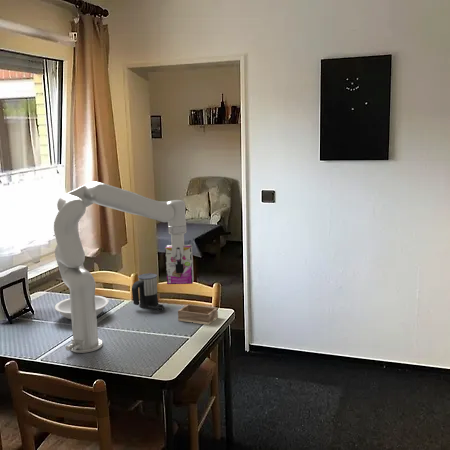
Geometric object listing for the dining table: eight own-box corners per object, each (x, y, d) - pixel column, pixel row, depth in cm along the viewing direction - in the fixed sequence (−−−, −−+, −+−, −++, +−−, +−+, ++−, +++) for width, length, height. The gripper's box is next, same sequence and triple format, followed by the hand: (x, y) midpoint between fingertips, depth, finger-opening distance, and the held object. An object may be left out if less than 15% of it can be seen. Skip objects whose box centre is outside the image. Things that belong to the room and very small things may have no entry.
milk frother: (145, 301, 263) (143, 272, 260) (174, 304, 257) (172, 274, 254) (130, 311, 250) (128, 280, 247) (160, 314, 244) (158, 283, 241)
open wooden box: (208, 324, 230) (208, 314, 229) (178, 320, 236) (177, 310, 235) (217, 317, 238) (217, 308, 237) (188, 313, 244) (187, 304, 243)
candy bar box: (166, 285, 226) (164, 247, 223) (168, 281, 231) (166, 244, 228) (193, 284, 226) (191, 246, 223) (194, 280, 231) (192, 243, 228)
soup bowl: (102, 326, 232) (101, 312, 230) (48, 328, 232) (46, 313, 231) (115, 307, 255) (114, 294, 254) (65, 308, 256) (64, 295, 255)
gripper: (169, 226, 232) (171, 266, 236) (167, 234, 215) (170, 277, 219) (186, 225, 233) (188, 265, 236) (186, 233, 216) (188, 276, 219)
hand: (179, 270), depth 228 cm, fingers closed on candy bar box, 5 cm apart
